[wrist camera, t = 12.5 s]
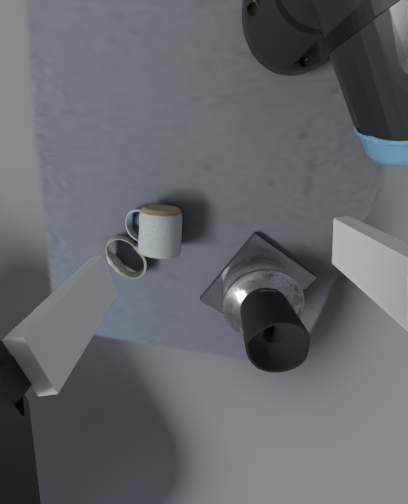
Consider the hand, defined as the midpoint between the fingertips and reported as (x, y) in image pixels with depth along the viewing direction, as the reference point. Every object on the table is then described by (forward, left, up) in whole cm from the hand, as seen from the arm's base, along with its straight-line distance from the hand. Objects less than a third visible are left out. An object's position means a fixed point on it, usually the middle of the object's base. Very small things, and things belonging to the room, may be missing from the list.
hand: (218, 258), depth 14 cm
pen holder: (+11, +20, -24) cm, 33 cm away
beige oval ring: (+20, -5, -31) cm, 37 cm away
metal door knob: (+11, +20, -31) cm, 38 cm away
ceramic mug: (+12, -4, -31) cm, 33 cm away
